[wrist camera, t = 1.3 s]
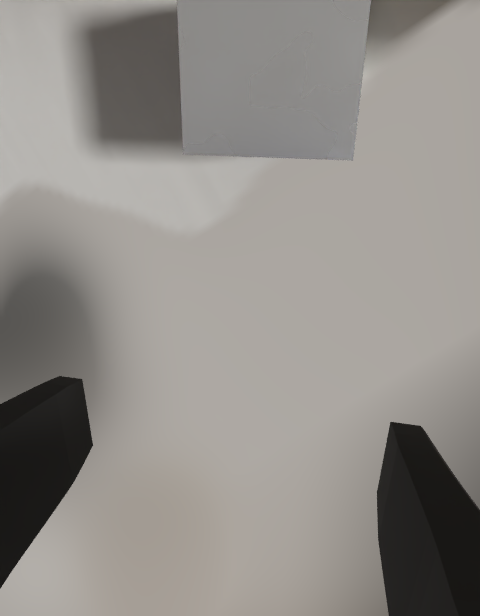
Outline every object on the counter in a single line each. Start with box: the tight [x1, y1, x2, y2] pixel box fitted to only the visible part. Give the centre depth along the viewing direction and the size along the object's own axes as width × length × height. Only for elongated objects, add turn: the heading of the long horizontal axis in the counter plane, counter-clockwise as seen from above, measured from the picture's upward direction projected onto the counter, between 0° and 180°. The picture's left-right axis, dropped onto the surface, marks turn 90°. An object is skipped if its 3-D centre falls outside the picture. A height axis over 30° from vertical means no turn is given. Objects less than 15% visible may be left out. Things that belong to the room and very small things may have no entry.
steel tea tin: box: [177, 0, 371, 160], centre depth 14 cm, size 5×5×6 cm
